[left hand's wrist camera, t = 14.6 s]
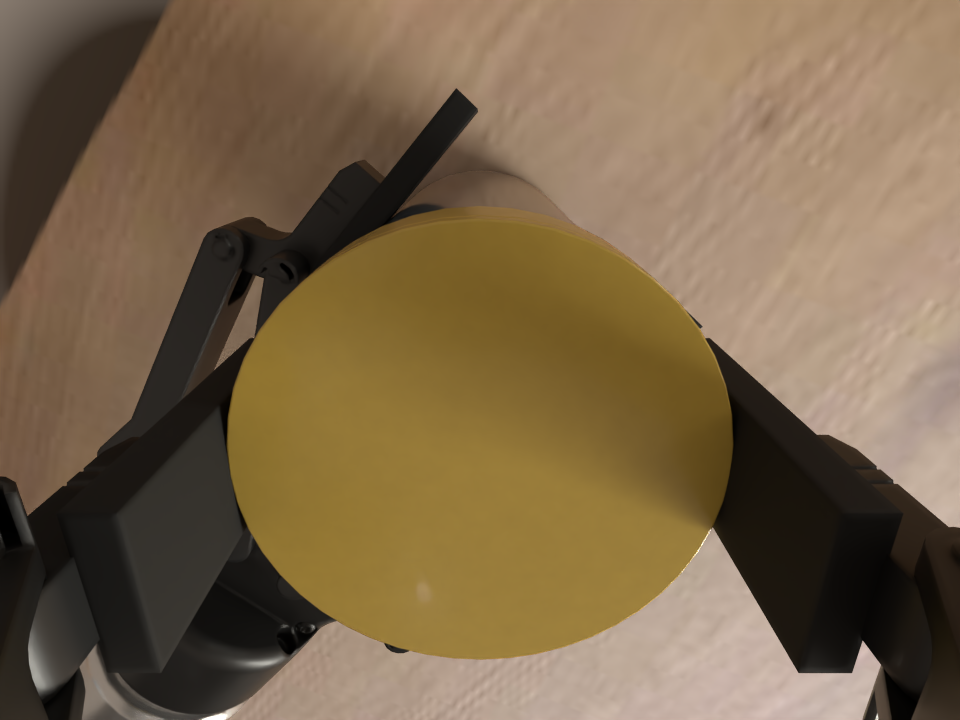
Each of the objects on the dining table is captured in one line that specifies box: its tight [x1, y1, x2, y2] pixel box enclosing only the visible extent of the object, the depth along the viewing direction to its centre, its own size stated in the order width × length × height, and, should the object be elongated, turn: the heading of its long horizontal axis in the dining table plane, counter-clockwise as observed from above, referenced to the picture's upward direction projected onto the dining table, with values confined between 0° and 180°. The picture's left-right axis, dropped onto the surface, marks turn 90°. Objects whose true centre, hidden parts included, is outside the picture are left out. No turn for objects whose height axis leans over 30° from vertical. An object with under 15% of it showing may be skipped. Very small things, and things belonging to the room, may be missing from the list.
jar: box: [385, 170, 575, 225], centre depth 18 cm, size 8×8×16 cm
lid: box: [227, 206, 733, 660], centre depth 11 cm, size 9×9×2 cm
